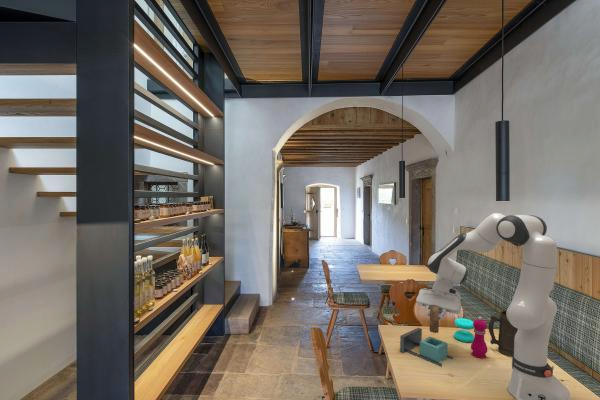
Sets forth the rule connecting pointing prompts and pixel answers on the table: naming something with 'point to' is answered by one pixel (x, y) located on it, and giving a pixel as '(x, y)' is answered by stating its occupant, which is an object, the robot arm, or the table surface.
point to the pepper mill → (479, 339)
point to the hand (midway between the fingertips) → (434, 316)
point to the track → (415, 344)
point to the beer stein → (503, 334)
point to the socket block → (433, 349)
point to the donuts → (464, 335)
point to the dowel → (434, 318)
